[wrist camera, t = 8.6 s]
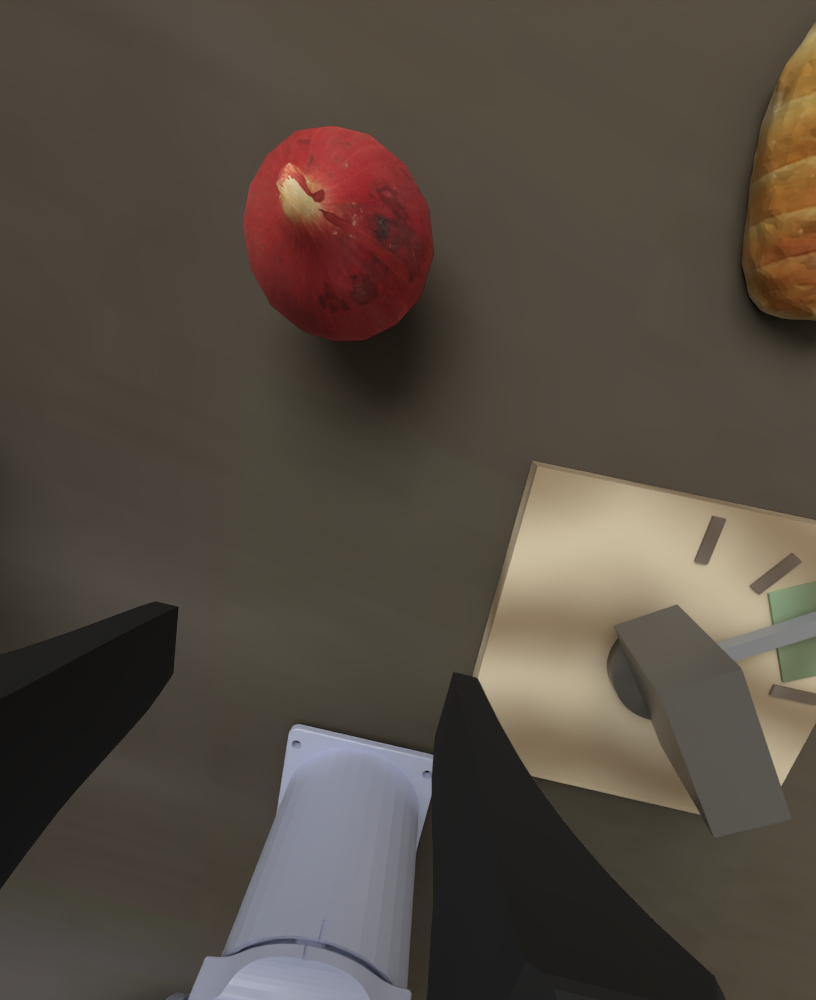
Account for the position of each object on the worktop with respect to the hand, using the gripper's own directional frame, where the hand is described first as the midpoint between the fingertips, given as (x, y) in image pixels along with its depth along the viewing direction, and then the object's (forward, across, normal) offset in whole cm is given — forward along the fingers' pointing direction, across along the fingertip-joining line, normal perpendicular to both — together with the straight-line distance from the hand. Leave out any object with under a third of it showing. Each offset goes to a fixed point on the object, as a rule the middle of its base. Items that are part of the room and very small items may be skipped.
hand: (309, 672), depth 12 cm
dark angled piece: (+9, -16, +1) cm, 18 cm away
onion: (+10, +2, -11) cm, 15 cm away
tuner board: (+10, -14, +2) cm, 17 cm away
